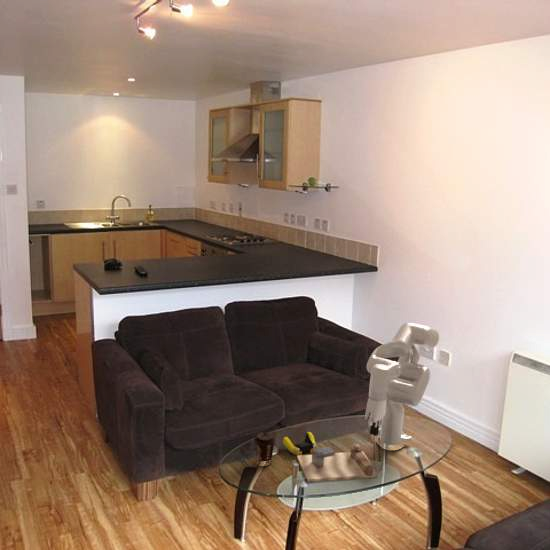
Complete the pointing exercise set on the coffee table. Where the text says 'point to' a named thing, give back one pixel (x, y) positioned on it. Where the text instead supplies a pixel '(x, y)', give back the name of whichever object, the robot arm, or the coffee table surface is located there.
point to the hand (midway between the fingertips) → (374, 434)
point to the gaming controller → (301, 445)
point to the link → (362, 461)
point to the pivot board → (333, 467)
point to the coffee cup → (264, 446)
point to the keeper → (321, 455)
